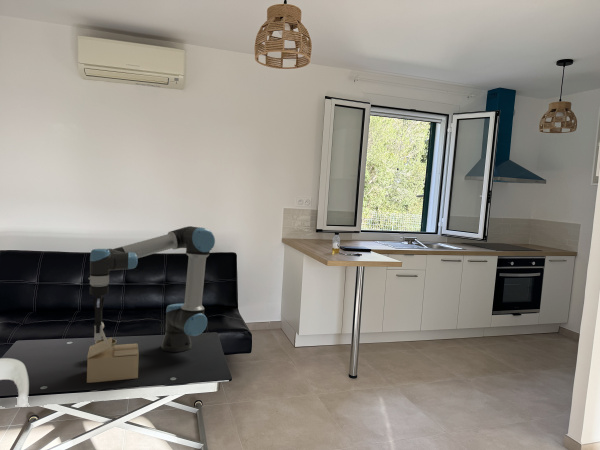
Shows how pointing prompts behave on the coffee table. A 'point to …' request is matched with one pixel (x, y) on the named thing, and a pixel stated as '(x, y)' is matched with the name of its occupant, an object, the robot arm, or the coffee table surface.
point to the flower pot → (112, 342)
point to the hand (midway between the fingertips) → (98, 338)
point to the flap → (100, 345)
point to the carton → (114, 364)
